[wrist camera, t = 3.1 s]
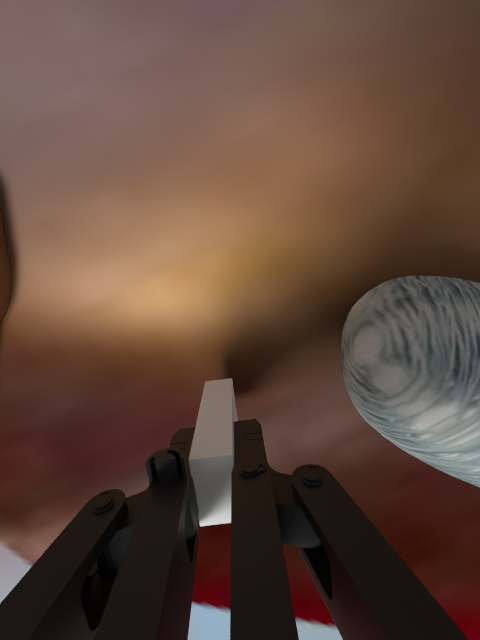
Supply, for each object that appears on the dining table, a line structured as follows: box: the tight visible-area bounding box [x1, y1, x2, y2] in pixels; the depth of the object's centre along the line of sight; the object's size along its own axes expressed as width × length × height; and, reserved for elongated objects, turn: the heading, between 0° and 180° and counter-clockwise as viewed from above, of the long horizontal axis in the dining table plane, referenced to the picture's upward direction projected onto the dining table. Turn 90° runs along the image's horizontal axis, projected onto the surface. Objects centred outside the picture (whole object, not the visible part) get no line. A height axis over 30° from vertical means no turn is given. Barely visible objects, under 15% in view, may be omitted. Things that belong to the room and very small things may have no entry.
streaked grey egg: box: [340, 275, 480, 487], centre depth 15 cm, size 14×10×10 cm
